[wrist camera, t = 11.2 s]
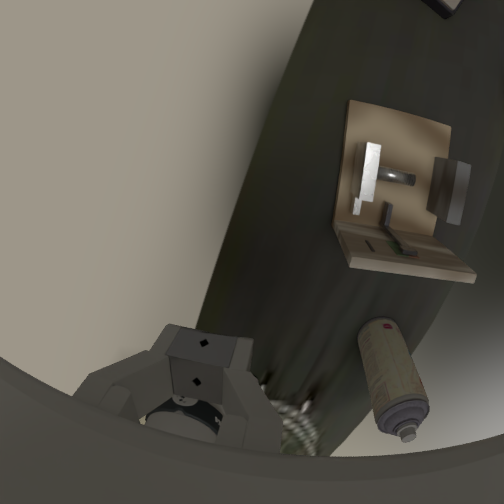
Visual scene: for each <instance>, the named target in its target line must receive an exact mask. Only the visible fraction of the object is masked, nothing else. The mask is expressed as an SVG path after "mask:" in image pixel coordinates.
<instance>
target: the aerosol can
mask: <svg viewBox="0 0 504 504" xmlns="http://www.w3.org/2000/svg"><path fill="white" fill-rule="evenodd" d="M357 340H358V344H359V349H360V353H361V357H362V361H363V365H364V370H365V374H366V379H367V383H368V388H369V393H370V397H371V402H372V407H373V412H374V418H375V422H376V424H377V426H378V429H379V430H380V431H381V432H383V433H386V434H391V435H395V436H399V437H401V440H402V442H405V443H406V442H410V441H412V440H414V439H415V438H416V432H415V431H416V430H417V428H418V427H419V425H420V424H421V423H422V421H423V420H424V419H425V418H426V417H427V415H428V413H429V405H428V401H429V400H428V398H427V395H426V392H425V390H424V387H423V385H422V382H421V379H420V377H419V374H418V372H417V369H416V367H415V364H414V362H413V360H412V357H411V355H410V353H409V350H408V348H407V346H406V343H405V341H404V339H403V337H402V334H401V332H400V330H399V328H398V326H397V324H396V322H395V321H394V320H392V319H391V318H388V317H376V318H373V319H371V320H369V321H368V322H366V323H365V324H364V325H363V326H362V327H361V328H360V330H359V332H358V336H357Z"/></svg>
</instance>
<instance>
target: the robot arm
mask: <svg viewBox="0 0 504 504" xmlns="http://www.w3.org/2000/svg"><path fill="white" fill-rule="evenodd" d="M253 343H254V340H253V339H251V338H244V337H234V336H228V335H222V334H216V333H210V332H206V331H201V330H196V329H192V328H187V327H182V326H177V325H173V324H168V325H166V326H165V328H164V329H163V331H162V333H161V334H160V336H159V337H158V339H157V340H156V342H155V343H154V345H153V346H152V348H151V349H150V351H147V350H145V351H142V352H140V353H138V354H136V355H133V356H131V357H129V358H126V359H124V360H121V361H119V362H117V363H114V364H112V365H110V366H107V367H105V368H102V369H100V370H97V371H95V372H93V373H90V374H89V375H88V376H87V378H86V379H85V380H84V382H83V383H82V384H81V385H80V387H79V388H78V389H77V391H76V392H75V393H74V395H73V396H70V395H67V394H65V393H63V392H61V391H59V390H57V389H55V388H53V387H51V386H49V385H47V384H46V383H44V382H41V381H40V380H38V379H36V378H34V377H33V376H31V375H29V374H27V373H26V372H24V371H22V370H21V369H19V368H17V367H16V366H14V365H12V364H11V363H9V362H8V361H6V360H4V359H3V358H1V357H0V504H504V434H501V435H498V436H495V437H491V438H487V439H483V440H480V441H475V442H471V443H467V444H463V445H458V446H452V447H447V448H442V449H436V450H430V451H422V452H415V453H407V454H395V455H384V456H383V455H382V456H364V457H363V456H361V457H326V456H304V455H290V454H280V446H281V436H282V425H283V421H282V419H281V418H280V416H279V415H278V413H277V412H276V410H275V409H274V407H273V406H272V404H271V403H270V401H269V400H268V398H267V396H266V395H265V393H264V392H263V390H262V389H261V387H260V386H259V384H258V379H257V378H256V377H254V376H253V375H252V373H251V372H250V367H251V360H252V351H253ZM146 414H147V415H146ZM145 415H146V419H145V420H146V423H145V425H142V424H140V421H139V419H140V418H142V417H143V416H145Z"/></svg>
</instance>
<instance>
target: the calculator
mask: <svg viewBox="0 0 504 504" xmlns="http://www.w3.org/2000/svg"><path fill="white" fill-rule="evenodd" d="M422 1H423V2H424V3H425V4H427V5H428V6H429V7H430V8H432V9H433V10H434V11H435V12H436V13H438V14H439V15H440V16H441V17H442V18H444V19H447V18H448V17H450V16H452V15H454V14H455V12H456V11H457V9H458V8H459V7H460V5H461V4H462V2H463V1H464V0H422Z"/></svg>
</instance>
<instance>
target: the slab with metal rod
mask: <svg viewBox="0 0 504 504" xmlns="http://www.w3.org/2000/svg"><path fill="white" fill-rule="evenodd" d="M380 151H381V145H378V144H373V143H369V142H357V147H356V155H355V162H354V170H353V177H352V183H351V190H350V192H351V193H352V194H353V198H352V204H351V210H350V211H351V213H352V214H354V215H359V214H360V209H361V203H362V200H363V201H369V202H373V197H374V191H375V185H376V180H381V181H386V182H391V183H396V184H401V185H405V186H410V187H413V186H414V185H415V182H416V175H415V174H414V173H411V172H406V171H402V170H398V169H393V168H388V167H384V166H379V158H380Z"/></svg>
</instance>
